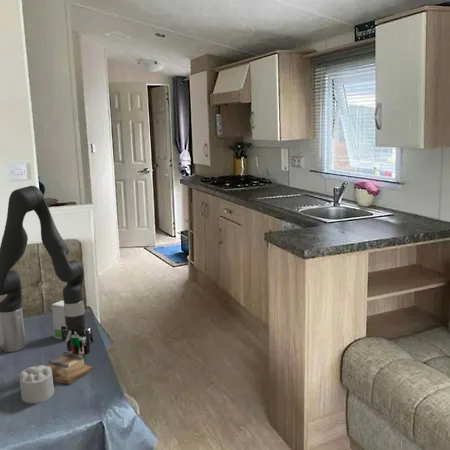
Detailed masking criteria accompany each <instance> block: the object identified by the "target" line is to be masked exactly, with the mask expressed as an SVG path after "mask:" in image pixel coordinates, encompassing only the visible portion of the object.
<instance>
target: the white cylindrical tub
mask: <svg viewBox="0 0 450 450" xmlns="http://www.w3.org/2000/svg"><path fill="white" fill-rule="evenodd" d="M19 386H20V393H21V394H20V395H21V400H22V401H23V402H25V403H28V404H40V403H43V402H45V401H47V400H48V399H50V398H51V397H52V396H53V395H54V394H55V386H54V381H53V377H52V370H51V367H50V366H48V365H43V364H41V365H35V366H30V367H27V368H26V369H24V370H23V371H21V372H20V374H19Z"/></svg>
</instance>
